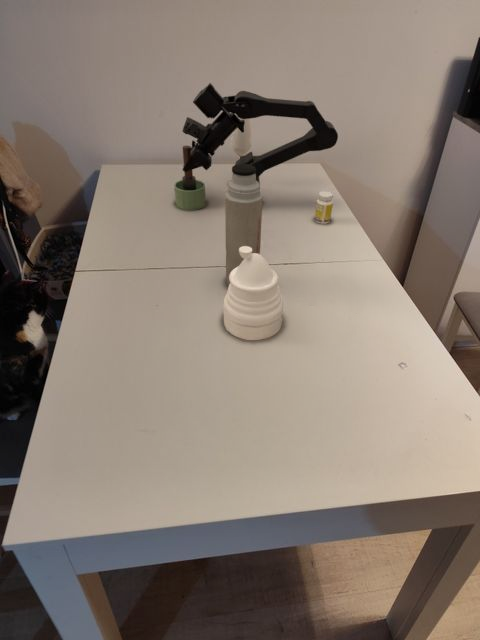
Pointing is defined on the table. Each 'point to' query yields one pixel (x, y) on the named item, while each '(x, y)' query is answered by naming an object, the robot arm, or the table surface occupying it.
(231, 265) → the thermos bottle
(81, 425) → the table surface
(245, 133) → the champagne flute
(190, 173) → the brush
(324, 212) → the supplement bottle
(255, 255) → the honey pot
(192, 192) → the jar
